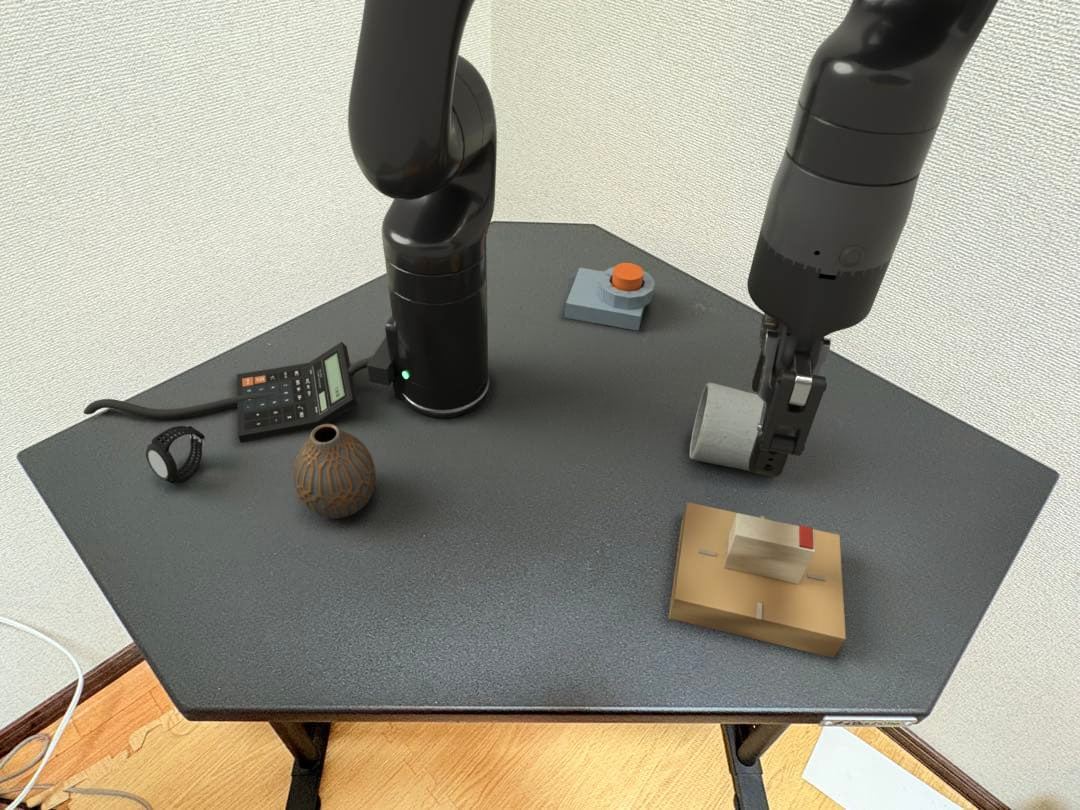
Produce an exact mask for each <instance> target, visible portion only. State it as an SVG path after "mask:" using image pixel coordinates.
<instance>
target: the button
mask: <svg viewBox="0 0 1080 810" xmlns="http://www.w3.org/2000/svg"><path fill="white" fill-rule="evenodd" d="M613 267H614V269H613V276H612V285H613V286H614V287H615V288H617V289H618V290H623V291H628V292H631V291H637V290H639V289H640V288H641V286H642V281H643V274H644V272H643V271H644V269H643V268H642V267H641V266H639V265H638V264H635V263H631V262H621V263H618V264H616V265H615V266H613Z"/></svg>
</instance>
